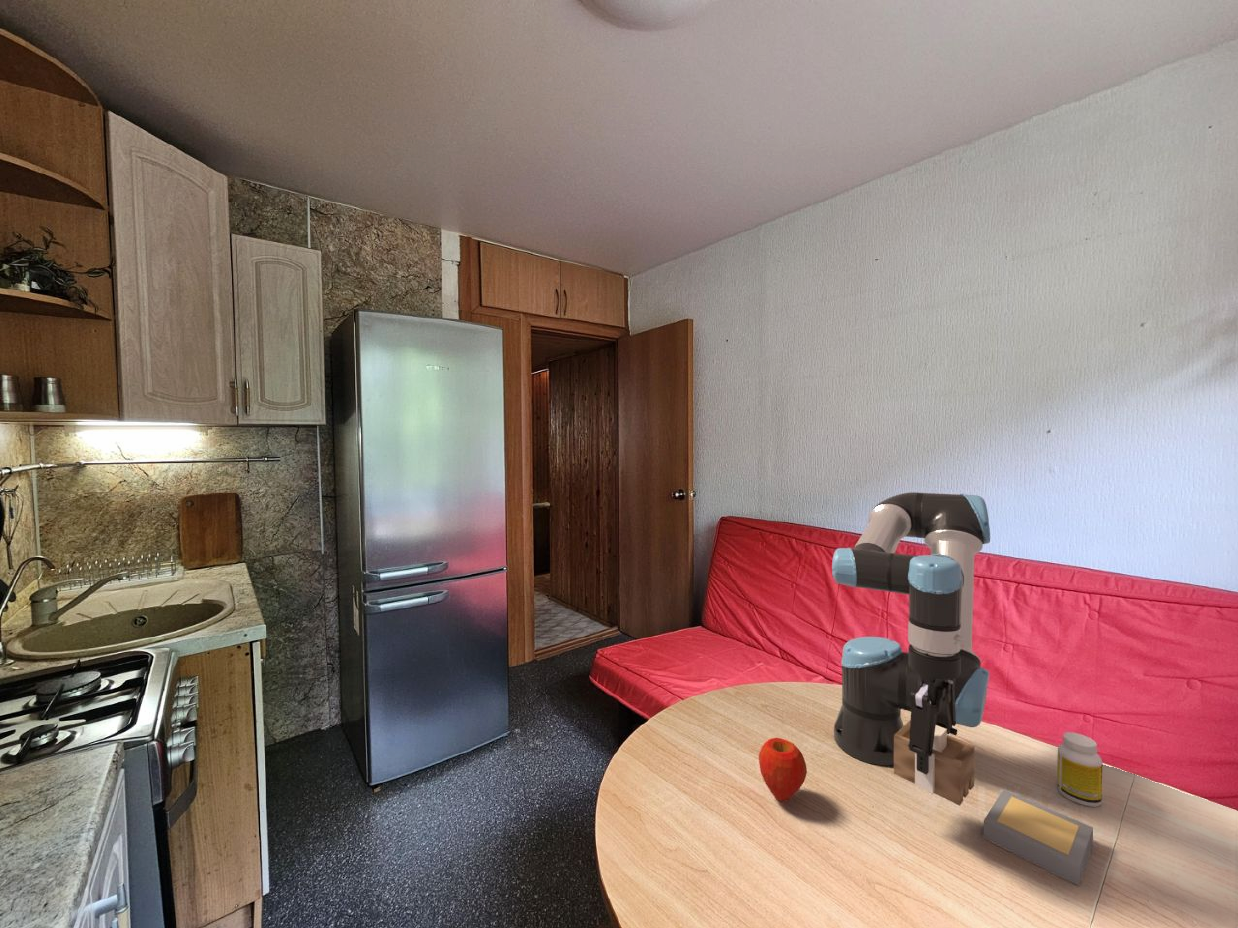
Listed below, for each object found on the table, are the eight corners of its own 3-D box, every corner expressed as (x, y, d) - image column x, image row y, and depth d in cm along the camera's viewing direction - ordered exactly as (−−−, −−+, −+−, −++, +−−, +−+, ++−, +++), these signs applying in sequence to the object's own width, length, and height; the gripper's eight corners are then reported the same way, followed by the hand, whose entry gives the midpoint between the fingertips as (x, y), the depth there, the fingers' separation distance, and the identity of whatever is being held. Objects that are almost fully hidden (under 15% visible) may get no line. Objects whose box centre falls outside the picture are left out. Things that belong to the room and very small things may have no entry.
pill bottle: (1111, 810, 89) (1112, 750, 89) (1071, 805, 90) (1072, 747, 90) (1086, 786, 95) (1087, 731, 95) (1049, 782, 96) (1050, 728, 96)
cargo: (912, 744, 85) (912, 727, 85) (920, 735, 87) (920, 719, 87) (938, 755, 82) (938, 738, 82) (946, 745, 84) (946, 728, 84)
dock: (983, 837, 83) (983, 819, 83) (1003, 804, 91) (1003, 788, 91) (1079, 886, 74) (1079, 866, 74) (1092, 844, 81) (1093, 826, 81)
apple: (813, 796, 94) (813, 741, 93) (794, 821, 87) (794, 762, 87) (771, 776, 99) (770, 724, 99) (750, 798, 93) (750, 743, 93)
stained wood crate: (893, 773, 86) (893, 734, 86) (909, 756, 91) (910, 720, 90) (959, 805, 79) (960, 763, 78) (973, 785, 83) (974, 745, 83)
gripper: (937, 674, 74) (936, 819, 76) (978, 638, 87) (977, 763, 88) (885, 658, 80) (885, 793, 81) (931, 627, 93) (930, 744, 94)
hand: (933, 777), depth 85 cm, fingers closed on stained wood crate, 7 cm apart
